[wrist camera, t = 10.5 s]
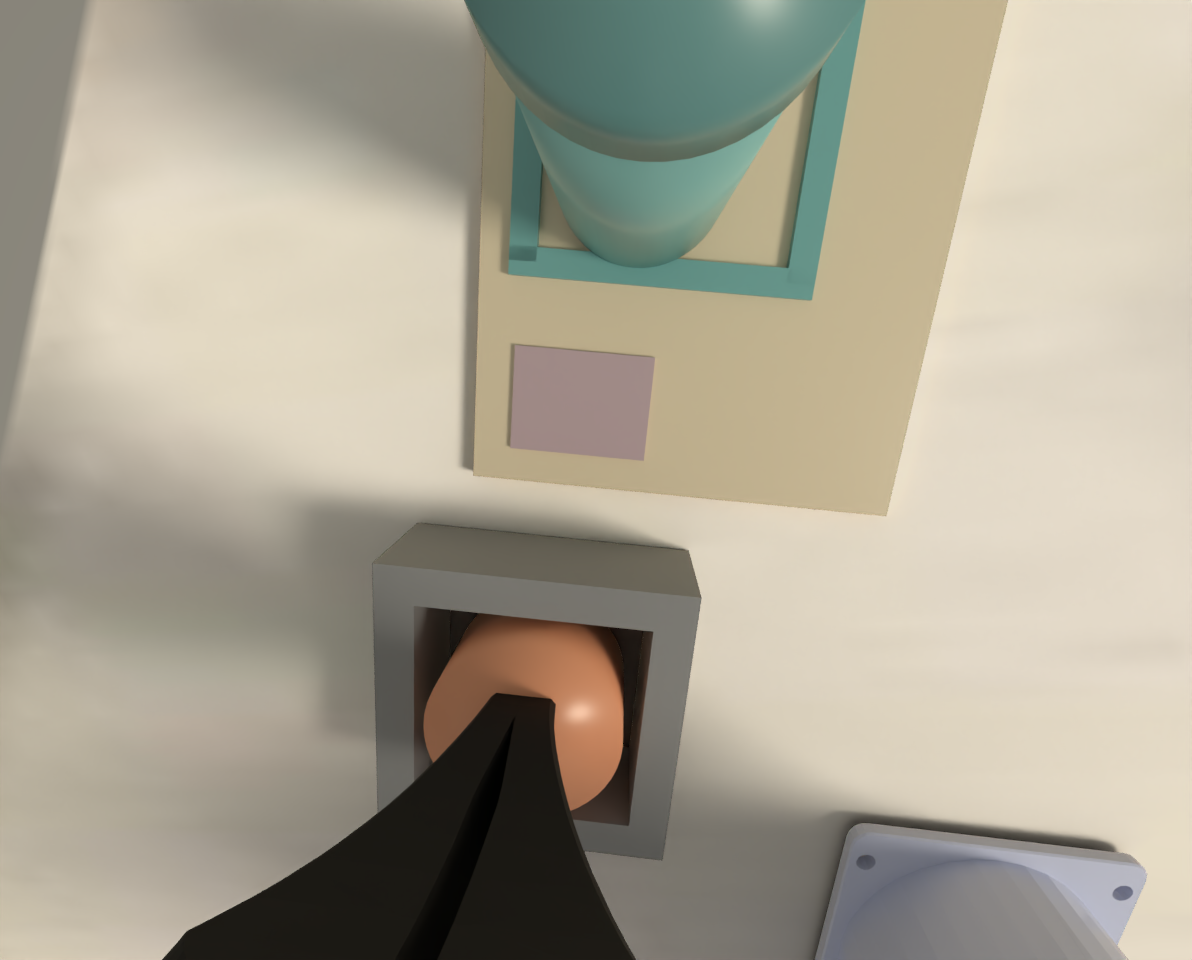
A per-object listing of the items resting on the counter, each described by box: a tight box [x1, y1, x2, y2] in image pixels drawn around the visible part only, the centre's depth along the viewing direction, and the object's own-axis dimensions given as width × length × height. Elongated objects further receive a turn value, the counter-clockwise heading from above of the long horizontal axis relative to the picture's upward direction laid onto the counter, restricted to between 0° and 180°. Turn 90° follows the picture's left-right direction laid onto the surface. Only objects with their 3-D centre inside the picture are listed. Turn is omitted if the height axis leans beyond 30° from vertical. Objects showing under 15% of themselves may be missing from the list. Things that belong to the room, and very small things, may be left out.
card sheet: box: [473, 0, 1008, 516], centre depth 12 cm, size 12×10×1 cm
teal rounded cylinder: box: [464, 0, 865, 268], centre depth 8 cm, size 4×4×8 cm
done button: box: [423, 613, 624, 811], centre depth 13 cm, size 4×4×2 cm
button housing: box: [372, 523, 701, 860], centre depth 14 cm, size 7×7×3 cm
